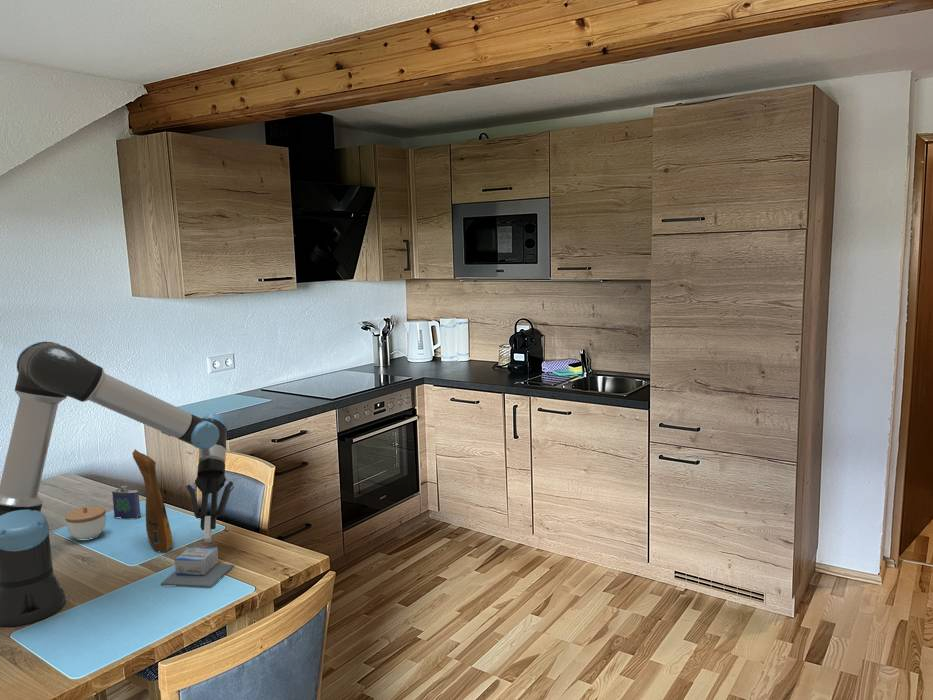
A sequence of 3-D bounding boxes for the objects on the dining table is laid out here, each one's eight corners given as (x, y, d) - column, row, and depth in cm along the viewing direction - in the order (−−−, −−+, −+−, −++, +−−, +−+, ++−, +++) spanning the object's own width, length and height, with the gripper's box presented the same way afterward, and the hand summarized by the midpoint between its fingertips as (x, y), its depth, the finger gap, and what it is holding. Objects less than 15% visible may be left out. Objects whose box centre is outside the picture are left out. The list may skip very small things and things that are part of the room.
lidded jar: (115, 531, 215) (112, 502, 214) (88, 545, 205) (85, 515, 203) (87, 528, 218) (84, 500, 216) (59, 542, 208) (55, 512, 206)
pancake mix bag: (151, 558, 195) (142, 462, 191) (139, 536, 211) (131, 447, 206) (177, 552, 199) (168, 457, 195) (163, 531, 214) (155, 443, 210)
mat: (211, 587, 176) (211, 585, 176) (160, 585, 179) (160, 583, 179) (233, 566, 188) (233, 564, 188) (186, 564, 190) (185, 562, 190)
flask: (142, 516, 227) (139, 484, 226) (136, 519, 224) (133, 487, 223) (117, 514, 229) (114, 483, 227) (111, 518, 226) (108, 486, 224)
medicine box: (217, 546, 190) (202, 560, 181) (219, 561, 190) (203, 576, 182) (190, 545, 190) (173, 559, 182) (191, 561, 191) (175, 575, 183)
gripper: (236, 467, 208) (234, 543, 194) (190, 471, 205) (184, 548, 191) (233, 455, 202) (230, 532, 188) (185, 459, 199) (179, 537, 185)
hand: (207, 540), depth 190 cm, fingers closed
